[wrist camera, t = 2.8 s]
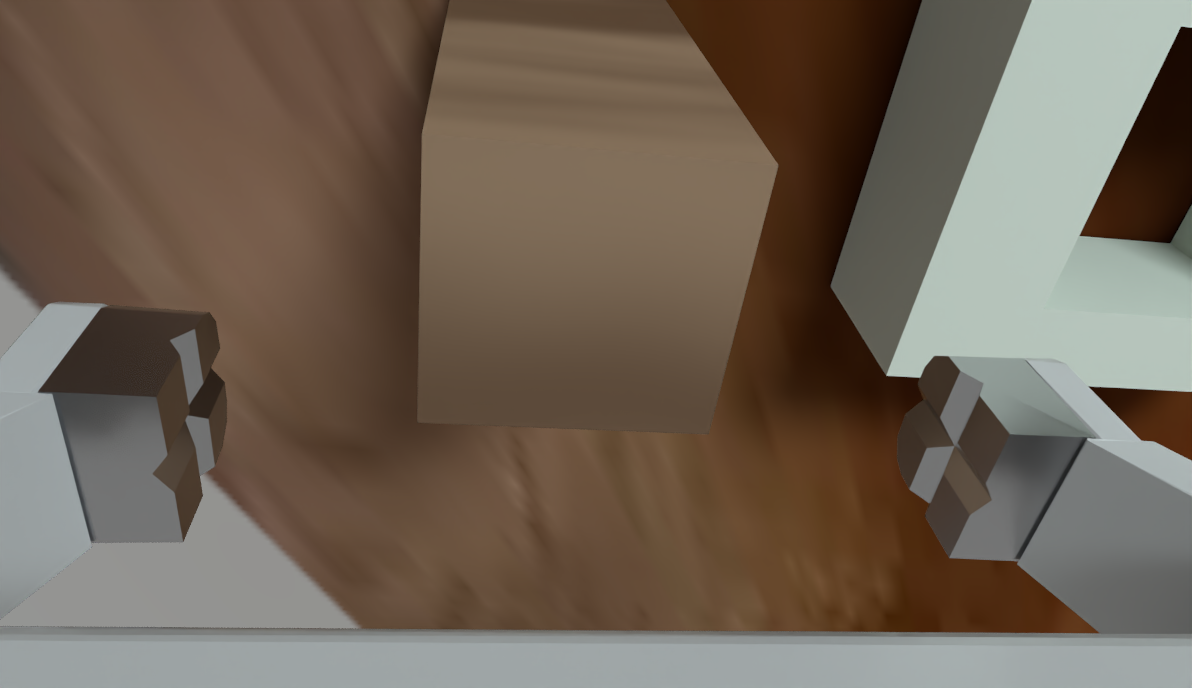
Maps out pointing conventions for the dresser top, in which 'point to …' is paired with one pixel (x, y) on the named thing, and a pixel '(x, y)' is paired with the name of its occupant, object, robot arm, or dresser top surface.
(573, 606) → the dresser top surface
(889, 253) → the socket board
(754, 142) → the wood grain block
